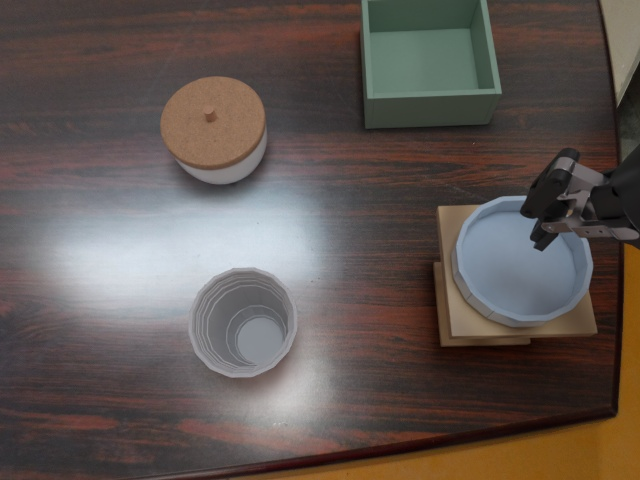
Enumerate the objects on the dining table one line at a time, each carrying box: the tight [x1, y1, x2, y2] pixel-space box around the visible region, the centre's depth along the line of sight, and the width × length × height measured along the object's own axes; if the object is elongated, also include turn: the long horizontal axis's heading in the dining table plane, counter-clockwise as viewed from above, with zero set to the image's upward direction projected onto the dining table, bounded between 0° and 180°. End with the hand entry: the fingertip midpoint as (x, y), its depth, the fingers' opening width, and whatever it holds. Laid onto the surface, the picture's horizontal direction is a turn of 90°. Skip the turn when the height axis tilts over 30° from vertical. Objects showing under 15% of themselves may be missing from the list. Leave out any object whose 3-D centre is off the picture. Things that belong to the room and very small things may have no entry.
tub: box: [359, 0, 503, 130], centre depth 72 cm, size 17×17×7 cm
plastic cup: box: [187, 266, 298, 378], centre depth 57 cm, size 11×11×12 cm
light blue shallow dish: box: [451, 195, 594, 327], centre depth 49 cm, size 12×12×3 cm
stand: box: [432, 204, 598, 348], centre depth 57 cm, size 13×13×14 cm
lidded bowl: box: [159, 75, 268, 185], centre depth 67 cm, size 13×13×11 cm
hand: (594, 263), depth 41 cm, fingers open, 8 cm apart
